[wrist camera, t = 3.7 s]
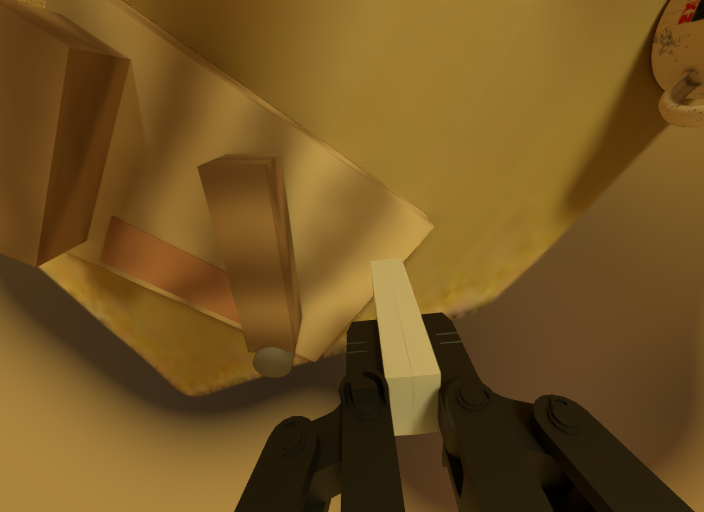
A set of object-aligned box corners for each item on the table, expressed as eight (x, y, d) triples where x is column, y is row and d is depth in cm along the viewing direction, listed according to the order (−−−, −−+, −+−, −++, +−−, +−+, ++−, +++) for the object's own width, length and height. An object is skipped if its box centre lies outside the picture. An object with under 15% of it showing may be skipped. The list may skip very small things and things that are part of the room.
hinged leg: (226, 154, 18) (193, 167, 14) (280, 153, 18) (262, 166, 14) (267, 337, 26) (253, 378, 22) (305, 336, 26) (297, 377, 22)
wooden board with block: (56, 217, 24) (-45, 257, 18) (98, -16, 17) (-49, -86, 11) (317, 340, 31) (309, 398, 25) (424, 213, 24) (450, 251, 18)
